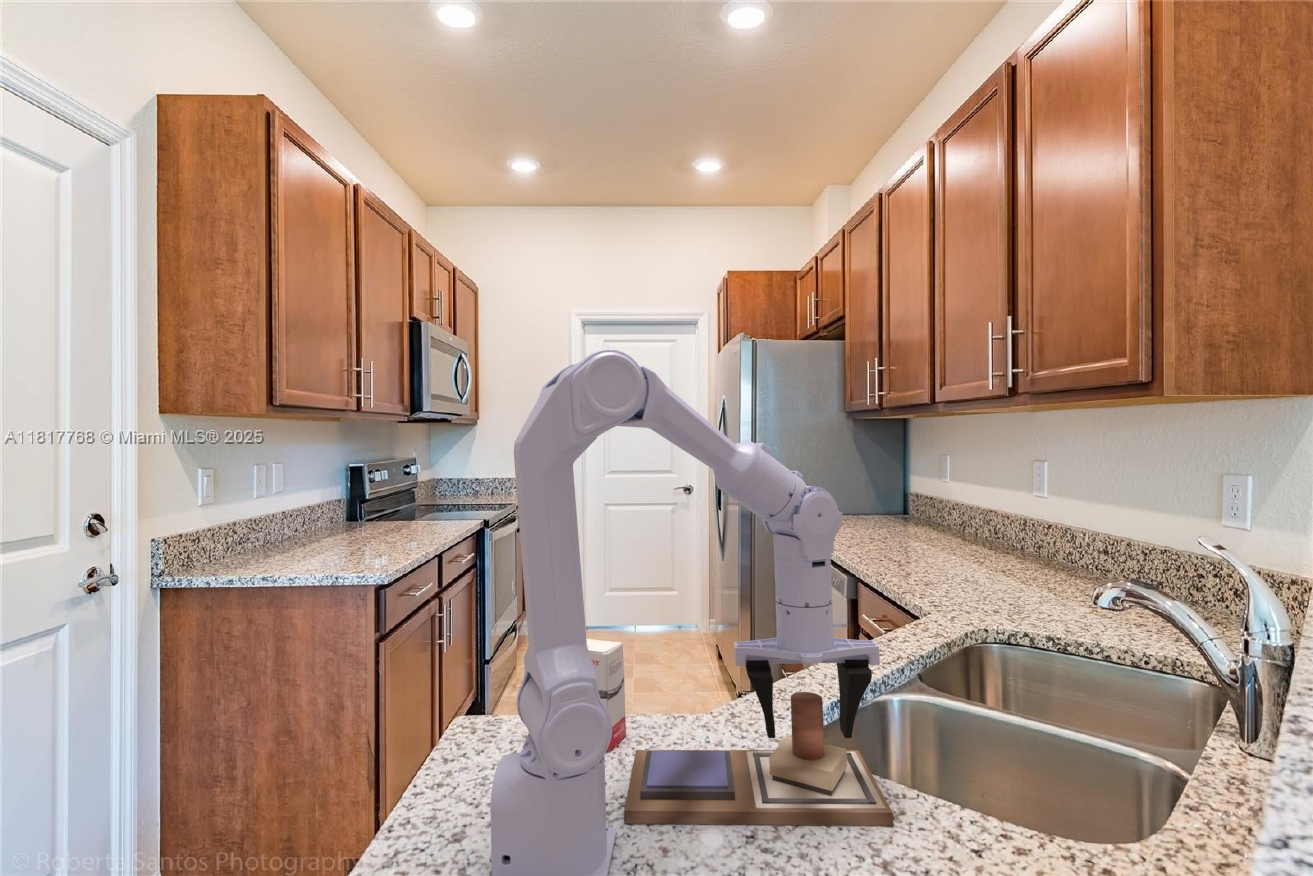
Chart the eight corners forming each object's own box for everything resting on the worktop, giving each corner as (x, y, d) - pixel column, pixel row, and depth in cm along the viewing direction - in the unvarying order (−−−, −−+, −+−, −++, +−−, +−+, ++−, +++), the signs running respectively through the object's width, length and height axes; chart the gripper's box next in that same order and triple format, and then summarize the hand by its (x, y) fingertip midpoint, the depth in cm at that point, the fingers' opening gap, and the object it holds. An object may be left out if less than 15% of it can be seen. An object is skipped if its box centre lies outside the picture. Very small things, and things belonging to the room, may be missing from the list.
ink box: (627, 735, 77) (625, 640, 77) (608, 753, 72) (606, 652, 73) (569, 725, 80) (567, 634, 81) (547, 742, 76) (545, 645, 76)
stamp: (770, 780, 63) (767, 701, 63) (788, 757, 68) (786, 683, 68) (832, 797, 60) (829, 713, 60) (847, 772, 64) (844, 694, 64)
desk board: (624, 823, 58) (623, 799, 59) (636, 760, 70) (635, 740, 70) (893, 826, 57) (892, 801, 57) (858, 761, 69) (858, 740, 69)
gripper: (735, 611, 60) (740, 752, 60) (887, 610, 59) (892, 752, 59) (731, 595, 67) (735, 721, 67) (866, 593, 66) (871, 720, 66)
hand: (808, 734), depth 63 cm, fingers open, 7 cm apart
